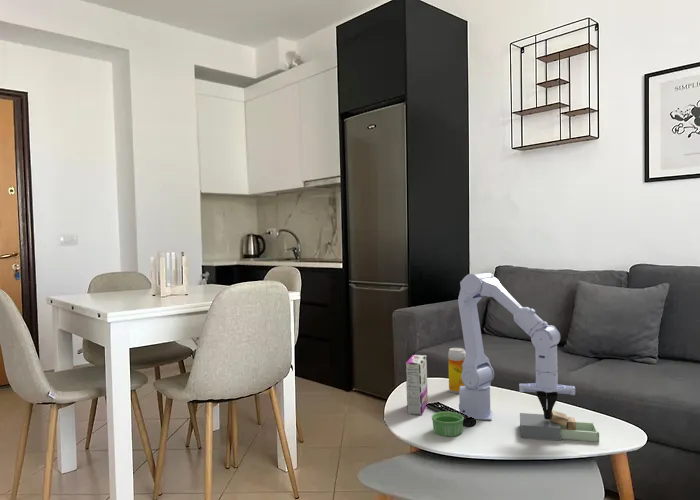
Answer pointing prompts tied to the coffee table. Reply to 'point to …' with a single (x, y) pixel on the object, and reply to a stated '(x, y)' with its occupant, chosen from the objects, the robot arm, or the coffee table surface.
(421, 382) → the candy bar box
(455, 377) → the beer glass
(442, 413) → the ramekin
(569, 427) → the oak tile
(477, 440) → the coffee table surface
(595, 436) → the tray
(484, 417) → the robot arm
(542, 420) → the grey flat block
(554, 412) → the oak tile
